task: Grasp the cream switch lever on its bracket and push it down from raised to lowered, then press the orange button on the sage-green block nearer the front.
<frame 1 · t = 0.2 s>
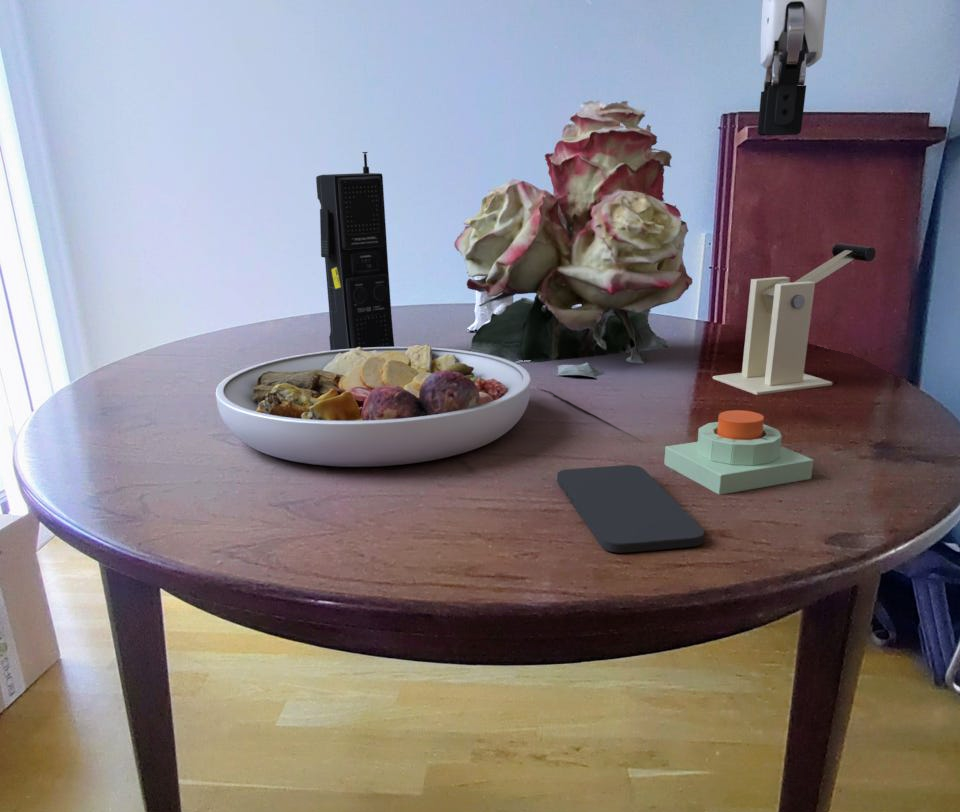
hand: (777, 135, 86), 26 cm above the table, tool pointing down, fingers open, 9 cm apart
bowl: (378, 429, 89), on the table
phone: (624, 512, 68), on the table
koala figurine: (489, 331, 135), on the table
lever: (814, 276, 97), point 12 cm above the table, hinge at 25.0°
rose bouquet: (586, 363, 115), on the table
bracket: (770, 389, 101), on the table
portable radio: (360, 362, 117), on the table
button block: (735, 472, 76), on the table
button: (740, 426, 74), point 4 cm above the table, slide at 0.1 cm
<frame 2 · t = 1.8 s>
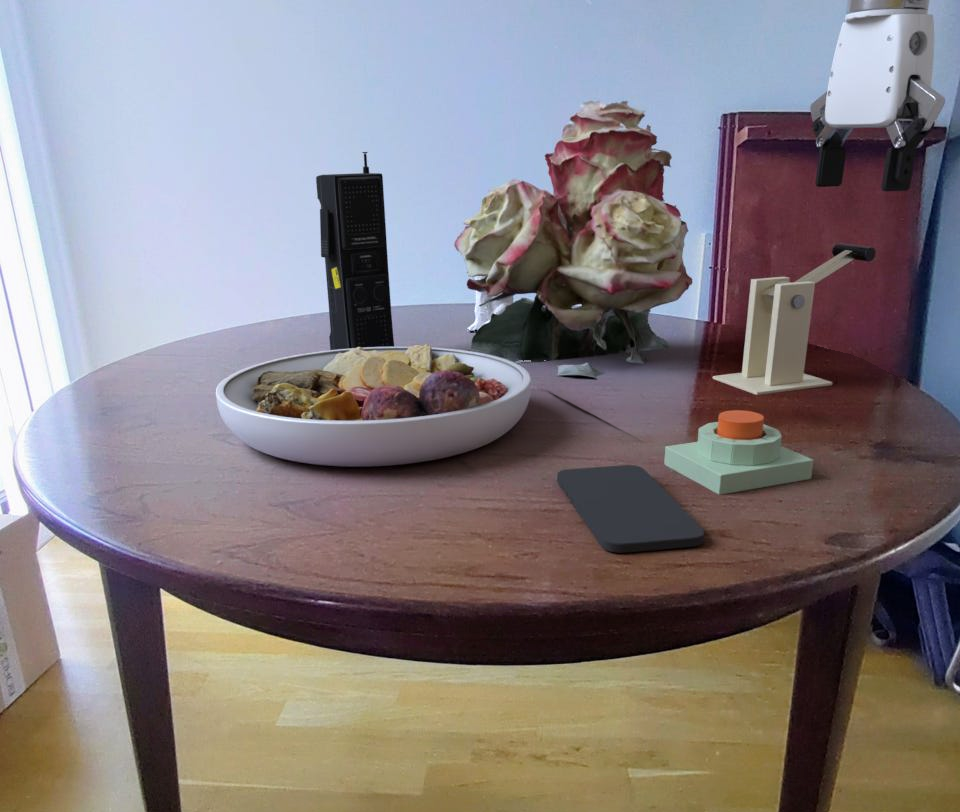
hand: (860, 188, 96), 21 cm above the table, tool pointing down, fingers open, 9 cm apart
nothing on the table moved.
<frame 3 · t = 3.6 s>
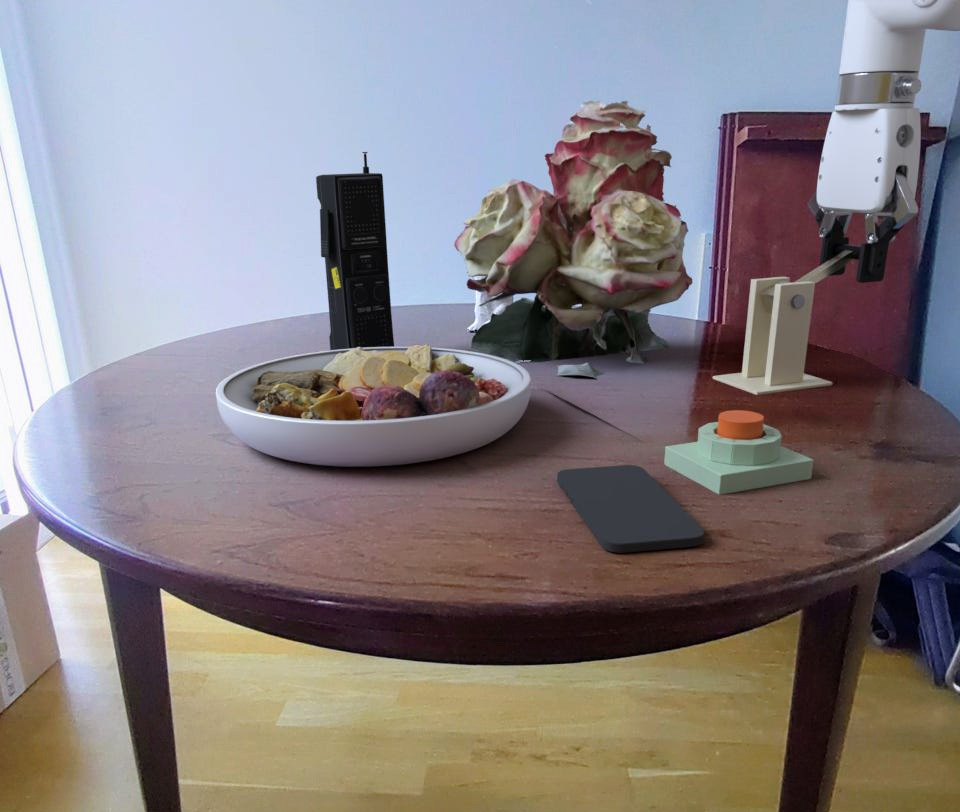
hand: (850, 276, 99), 12 cm above the table, tool pointing down, fingers closed on lever, 5 cm apart
lever: (814, 276, 97), point 12 cm above the table, hinge at 25.0°, touching gripper
everything else where it was.
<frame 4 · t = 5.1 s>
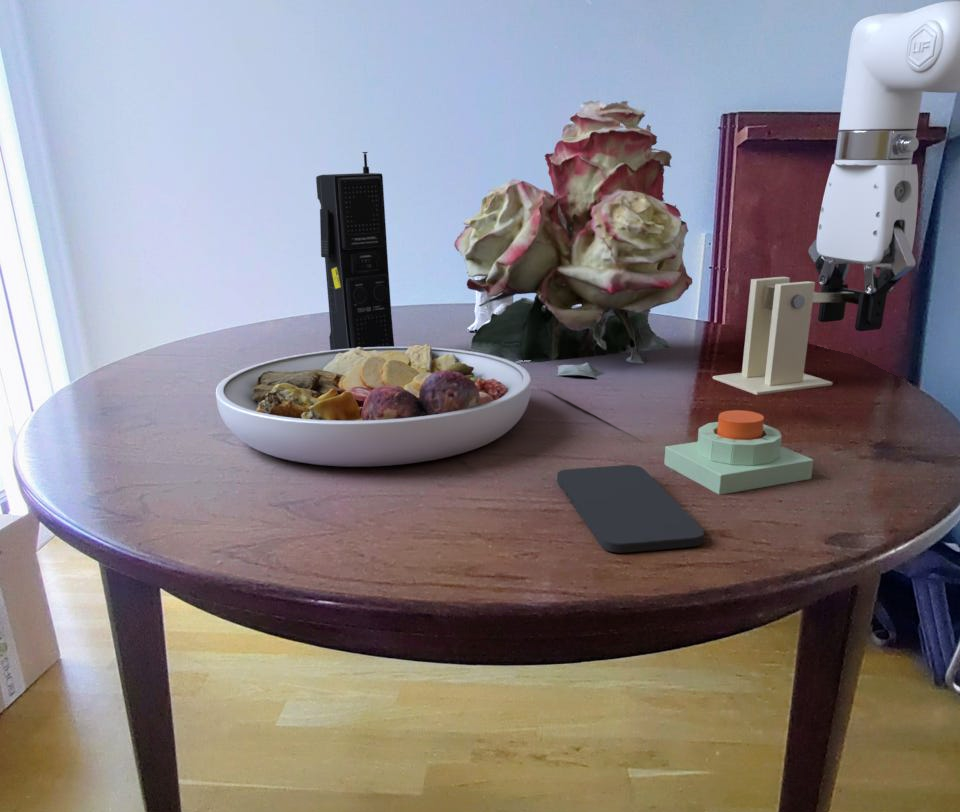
hand: (848, 323, 101), 6 cm above the table, tool pointing down, fingers closed on lever, 5 cm apart
lever: (815, 297, 98), point 10 cm above the table, hinge at -3.4°, touching gripper
everything else where it was.
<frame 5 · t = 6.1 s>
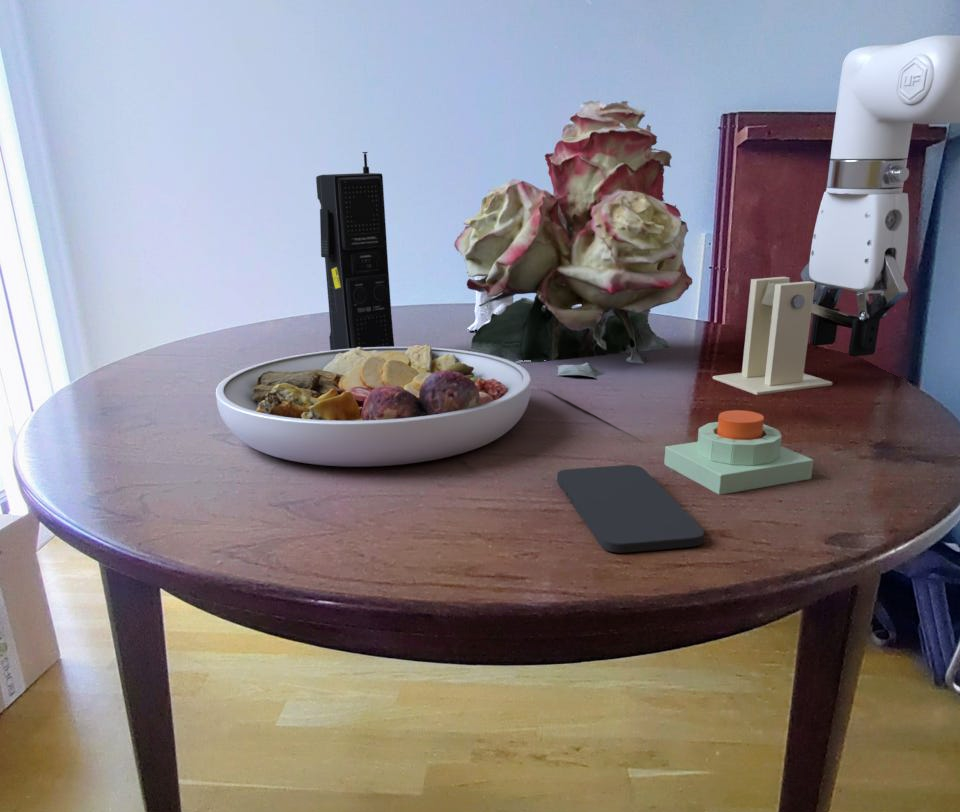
hand: (841, 347, 102), 4 cm above the table, tool pointing down, fingers open, 5 cm apart
lever: (812, 308, 99), point 9 cm above the table, hinge at -18.4°
everything else where it was.
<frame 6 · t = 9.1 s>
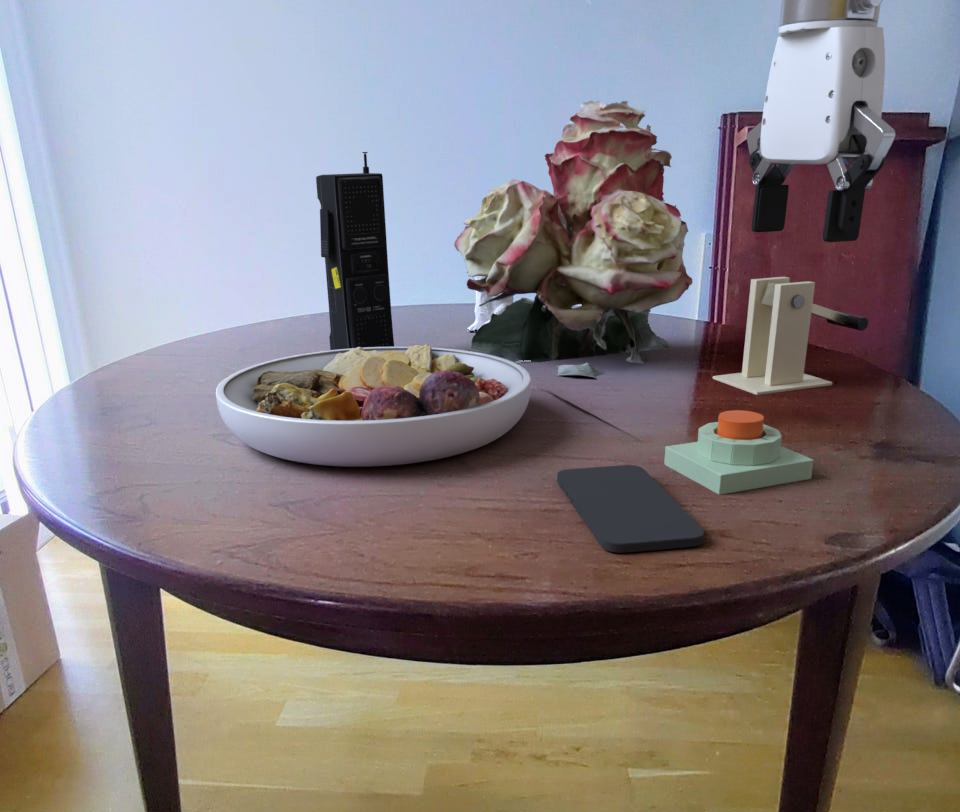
hand: (801, 235, 79), 18 cm above the table, tool pointing down, fingers open, 9 cm apart
nothing on the table moved.
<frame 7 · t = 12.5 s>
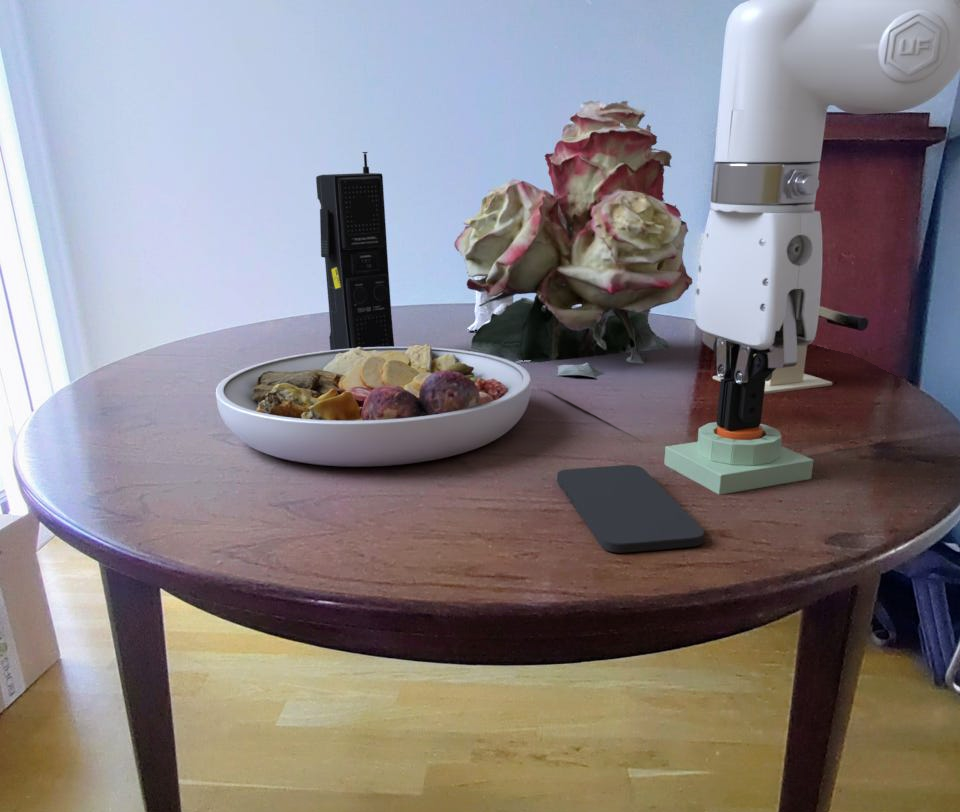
hand: (738, 426, 74), 4 cm above the table, tool pointing down, fingers closed
button: (739, 437, 75), point 3 cm above the table, slide at -0.8 cm, touching gripper
everything else where it was.
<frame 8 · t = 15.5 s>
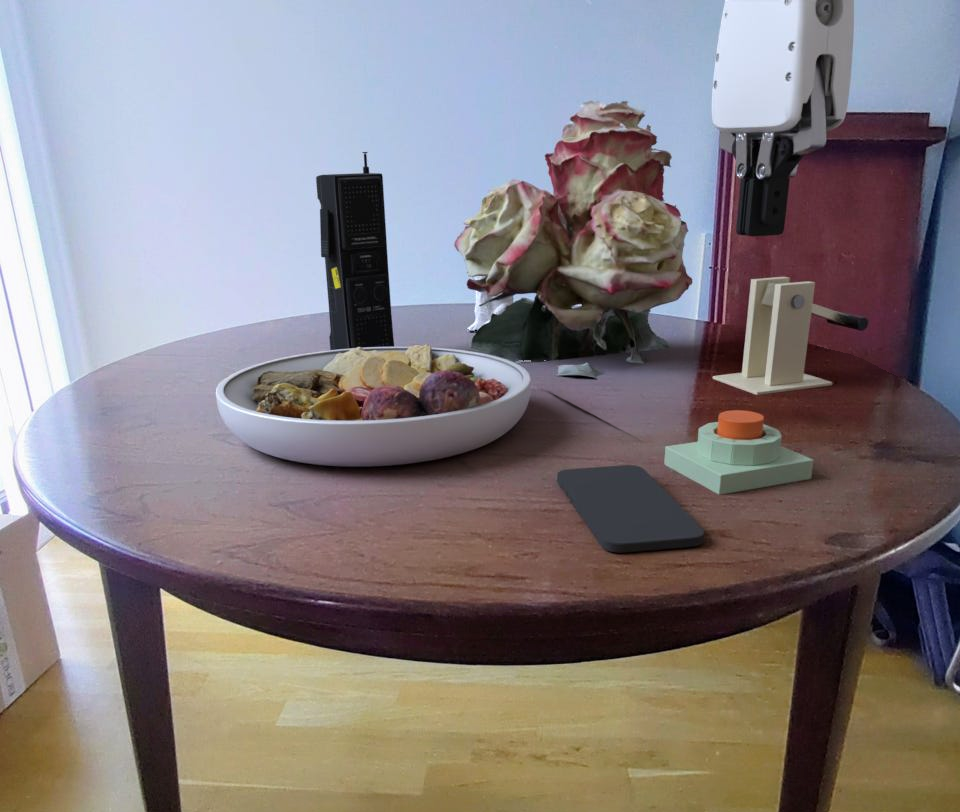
hand: (759, 234, 68), 19 cm above the table, tool pointing down, fingers closed
button: (740, 426, 74), point 4 cm above the table, slide at 0.1 cm
everything else where it was.
at the end: lever at -18° (first picture: +25°); button pushed in 1.1 cm at the most during the clip, back to where it started at the end; button slide at 0.1 cm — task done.
